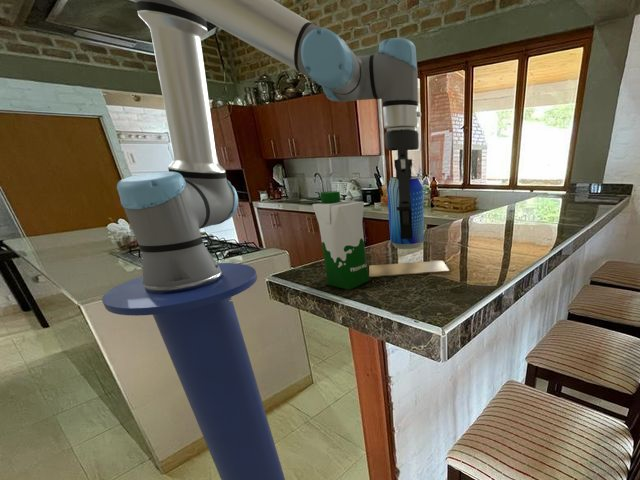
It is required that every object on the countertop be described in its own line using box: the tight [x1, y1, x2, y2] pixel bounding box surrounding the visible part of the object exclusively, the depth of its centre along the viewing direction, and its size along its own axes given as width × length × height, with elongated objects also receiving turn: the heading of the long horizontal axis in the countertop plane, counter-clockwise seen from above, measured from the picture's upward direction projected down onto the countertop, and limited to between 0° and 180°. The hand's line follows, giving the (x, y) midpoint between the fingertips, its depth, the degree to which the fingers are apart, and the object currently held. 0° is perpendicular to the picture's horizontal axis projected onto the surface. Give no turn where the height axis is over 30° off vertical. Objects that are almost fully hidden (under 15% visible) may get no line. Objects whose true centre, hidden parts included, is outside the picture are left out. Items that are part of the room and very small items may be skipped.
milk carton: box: [312, 190, 370, 290], centre depth 74 cm, size 9×9×20 cm
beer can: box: [386, 175, 425, 250], centre depth 80 cm, size 8×8×16 cm
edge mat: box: [368, 260, 450, 278], centre depth 87 cm, size 20×9×1 cm, turn 98°
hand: (406, 234), depth 83 cm, fingers closed on beer can, 8 cm apart
